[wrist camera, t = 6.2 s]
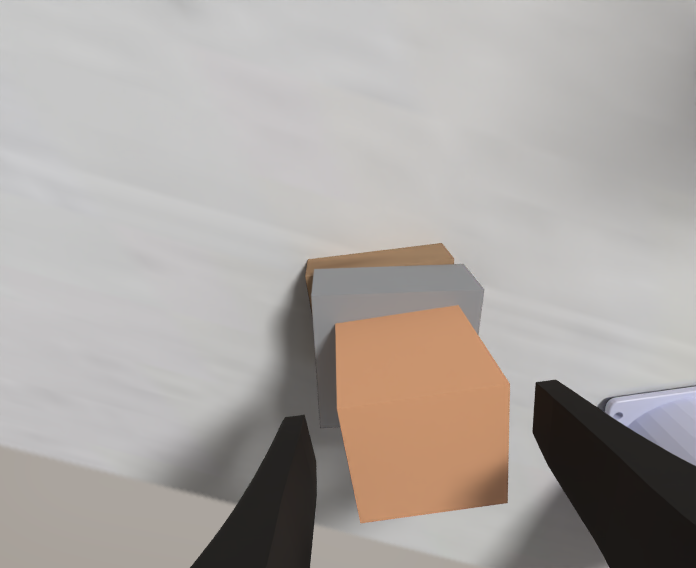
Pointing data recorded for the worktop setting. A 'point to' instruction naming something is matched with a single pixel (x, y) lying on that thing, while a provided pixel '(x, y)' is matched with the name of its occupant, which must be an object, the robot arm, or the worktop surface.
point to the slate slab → (380, 308)
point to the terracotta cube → (421, 414)
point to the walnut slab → (381, 260)
